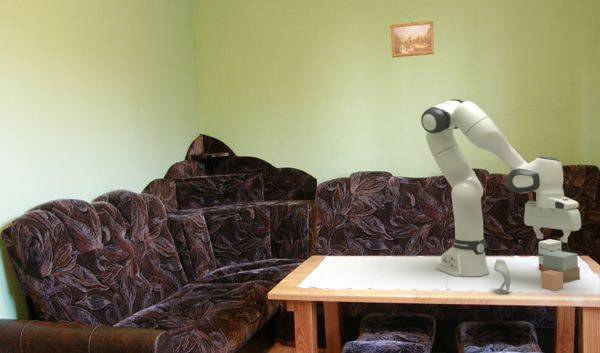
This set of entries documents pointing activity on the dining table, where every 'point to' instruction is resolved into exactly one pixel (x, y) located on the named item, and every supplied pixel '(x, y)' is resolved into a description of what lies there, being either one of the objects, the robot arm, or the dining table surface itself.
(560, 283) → the terracotta block
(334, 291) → the dining table surface
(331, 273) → the dining table surface
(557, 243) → the ink box
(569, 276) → the walnut block
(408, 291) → the dining table surface
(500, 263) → the figurine
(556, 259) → the slate block
